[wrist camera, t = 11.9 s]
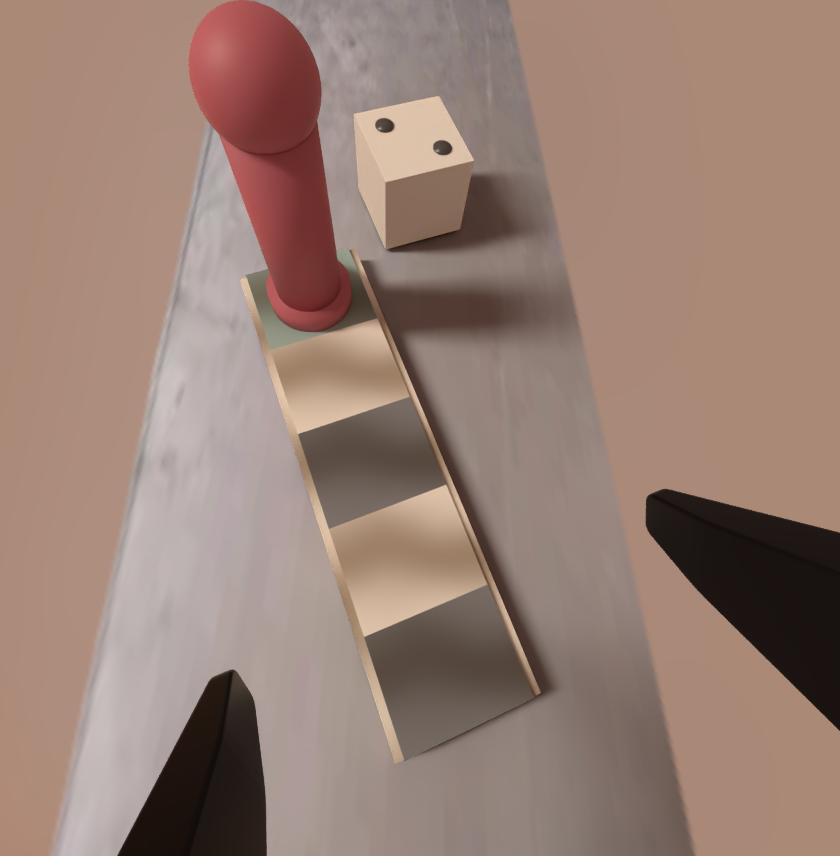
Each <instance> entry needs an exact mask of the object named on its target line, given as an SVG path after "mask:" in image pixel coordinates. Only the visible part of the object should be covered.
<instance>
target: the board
mask: <svg viewBox="0 0 840 856" xmlns="http://www.w3.org/2000/svg"><path fill="white" fill-rule="evenodd" d="M336 253H337V260H339V261H340V262H341V263H342V264H343V265H344V267H345V268H346V270H347V272H348V274H349V277H350V284H351V293H352V302H351V306H350V309H349V311H348V313H347V314H346V316H345V317H344V318H343V319H342V320H341V321H340V322H339V323H338V324H336V325H335V326H333V327H331V328H329V329H326V330H323V331H319V332H302V331H298V330H295V329H292V328H290V327H288V326H287V325H285V324H284V323H283V322H282V321H281V320H280V319H279V318H278V317H277V315H276V314H275V312H274V310H273V307H272V305H271V302H270V300H269V297H268V294H267V289H266V283H267V278H268V275H269V273H270V272H269V269H267V270H263V271H260V272H256V273H252V274H248V275H246V278H243V279H240V281H241V284H242V287H243V291H244V294H245V297H246V300H247V303H248V306H249V309H250V312H251V315H252V319H253V322H254V325H255V328H256V331H257V334H258V337H259V340H260V344H261V347H262V350H263V353H264V356H265V359H266V362H267V365H268V368H269V372H270V375H271V378H272V381H273V384H274V387H275V390H276V393H277V397H278V400H279V403H280V406H281V409H282V412H283V415H284V418H285V421H286V425H287V428H288V431H289V434H290V437H291V440H292V443H293V446H294V450H295V453H296V456H297V459H298V462H299V465H300V468H301V471H302V475H303V478H304V481H305V484H306V487H307V490H308V493H309V496H310V499H311V503H312V506H313V509H314V512H315V515H316V518H317V521H318V524H319V528H320V531H321V534H322V537H323V540H324V543H325V546H326V549H327V552H328V556H329V559H330V562H331V565H332V568H333V571H334V574H335V577H336V581H337V584H338V587H339V590H340V593H341V596H342V599H343V602H344V606H345V609H346V612H347V615H348V618H349V621H350V624H351V627H352V630H353V634H354V637H355V640H356V643H357V646H358V649H359V652H360V655H361V659H362V662H363V665H364V668H365V671H366V674H367V677H368V680H369V683H370V687H371V690H372V693H373V696H374V699H375V702H376V705H377V708H378V712H379V715H380V718H381V721H382V724H383V727H384V730H385V733H386V737H387V740H388V743H389V746H390V749H391V752H392V755H393V758H394V761H395V764H396V763H398V762H400V761H402V760H404V761H405V760H408V759H410V758H412V757H414V756H416V755H418V754H420V753H422V752H424V751H426V750H428V749H430V748H432V747H434V746H436V745H439V744H441V743H443V742H445V741H447V740H449V739H451V738H453V737H455V736H457V735H459V734H461V733H463V732H465V731H467V730H469V729H472V728H474V727H476V726H478V725H480V724H482V723H484V722H486V721H488V720H490V719H492V718H494V717H496V716H498V715H500V714H503V713H505V712H507V711H509V710H511V709H513V708H515V707H517V706H519V705H521V704H523V703H525V702H527V701H529V700H531V699H533V698H534V696H536V695H538V694H540V693H541V692H540V690H539V687H538V685H537V682H536V680H535V678H534V675H533V673H532V670H531V668H530V666H529V663H528V661H527V659H526V656H525V654H524V651H523V649H522V647H521V644H520V642H519V639H518V637H517V635H516V632H515V630H514V627H513V625H512V623H511V620H510V618H509V615H508V613H507V611H506V608H505V606H504V603H503V601H502V599H501V596H500V594H499V591H498V589H497V587H496V584H495V582H494V580H493V577H492V575H491V572H490V570H489V568H488V565H487V563H486V560H485V558H484V556H483V553H482V551H481V548H480V546H479V544H478V541H477V539H476V536H475V534H474V532H473V529H472V527H471V524H470V522H469V520H468V517H467V515H466V513H465V510H464V508H463V505H462V503H461V501H460V498H459V496H458V493H457V491H456V489H455V486H454V484H453V481H452V479H451V477H450V474H449V472H448V469H447V467H446V465H445V462H444V460H443V457H442V455H441V453H440V450H439V448H438V446H437V443H436V441H435V438H434V436H433V434H432V431H431V429H430V426H429V424H428V422H427V419H426V417H425V414H424V412H423V410H422V407H421V405H420V402H419V400H418V398H417V395H416V393H415V390H414V388H413V386H412V383H411V381H410V379H409V376H408V374H407V371H406V369H405V367H404V364H403V362H402V359H401V357H400V355H399V352H398V350H397V347H396V345H395V343H394V340H393V338H392V335H391V333H390V331H389V328H388V326H387V323H386V321H385V319H384V316H383V314H382V312H381V309H380V307H379V304H378V302H377V300H376V297H375V295H374V292H373V290H372V288H371V285H370V283H369V280H368V278H367V276H366V273H365V271H364V268H363V266H362V264H361V261H360V259H359V256H358V254H357V252H356V249H351V250H349V248H346V249H342V250H338V251H336Z"/></svg>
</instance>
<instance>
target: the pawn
mask: <svg viewBox="0 0 840 856" xmlns="http://www.w3.org/2000/svg"><path fill="white" fill-rule="evenodd" d="M189 74H190V80H191V84H192V89H193V92H194V95H195V98H196V100H197V102H198V104H199V107H200V109H201V111H202V112H203V114H204V116H205V117H206V119H207V120H208V122H209V123H210V124H211V126H212V127H213V128H214V129H215V130H216V131H217V132H218V134H219V135H220V138H221V141H222V144H223V146H224V149H225V152H226V154H227V157H228V160H229V163H230V165H231V168H232V171H233V174H234V176H235V179H236V182H237V185H238V187H239V190H240V193H241V195H242V198H243V201H244V204H245V206H246V209H247V212H248V215H249V217H250V220H251V223H252V225H253V228H254V231H255V234H256V236H257V239H258V242H259V245H260V247H261V250H262V253H263V256H264V258H265V261H266V264H267V266H268V269H269V272H270V273H269V275H268V278H267V283H266V289H267V294H268V297H269V300H270V302H271V305H272V307H273V310H274V312H275V314H276V315H277V317H278V318H279V319H280V320H281V321H282V322H283V323H284V324H285V325H287V326H288V327H290V328H292V329H295V330H298V331H302V332H319V331H323V330H326V329H329V328H331V327H333V326H335V325H336V324H338V323H339V322H340V321H341V320H342V319H343V318H344V317H345V316H346V314H347V313H348V311H349V309H350V306H351V302H352V293H351V284H350V277H349V274H348V272H347V270H346V268H345V267H344V265H343V264H342V263H341V262H340V261H339V260H337V253H336V246H335V239H334V233H333V226H332V219H331V212H330V206H329V199H328V192H327V185H326V178H325V172H324V165H323V158H322V151H321V144H320V138H319V131H318V124H317V119H318V115H319V111H320V106H321V81H320V75H319V70H318V67H317V64H316V61H315V58H314V56H313V53H312V51H311V49H310V47H309V45H308V44H307V42H306V40H305V39H304V37H303V36H302V34H301V33H300V32H299V31H298V30H297V28H296V27H295V26H294V25H293V24H292V23H291V22H290V21H289V20H288V19H287V18H286V17H284V16H283V15H282V14H280V13H279V12H277V11H276V10H274V9H272V8H271V7H268V6H266V5H263V4H261V3H257V2H253V1H247V0H238V1H231V2H227V3H224V4H222V5H220V6H218V7H216V8H215V9H213V10H212V11H210V12H209V13H208V14H207V15H206V16H205V18H204V19H203V20H202V21H201V23H200V24H199V26H198V27H197V29H196V31H195V34H194V36H193V39H192V42H191V47H190V54H189Z"/></svg>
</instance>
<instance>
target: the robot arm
mask: <svg viewBox="0 0 840 856" xmlns="http://www.w3.org/2000/svg"><path fill="white" fill-rule="evenodd" d="M646 527H647V529H648V531H649V533H650V535H651V536H652V537H653V538H654V539H655V541H656V542H657V543H658V544H659V545H660V547H661V548H662V549H663V550H664V551H665V553H666V554H667V555H668V556H669V557H670V559H671V560H672V561H673V562H674V563H675V565H676V566H677V567H678V568H679V569H680V570H681V572H682V573H683V574H684V575H685V576H686V578H687V579H688V580H689V581H690V582H691V583H692V585H693V586H694V587H695V588H696V589H697V590H698V591H699V592H700V593H701V594H702V595H703V596H704V597H705V598H706V599H707V600H708V601H709V602H710V603H711V604H712V605H713V606H714V607H715V608H716V609H717V610H718V611H719V612H720V613H721V614H722V615H723V616H724V617H725V618H726V619H727V620H728V621H729V622H730V623H731V624H732V625H733V626H734V627H735V628H736V629H737V630H738V631H739V632H740V633H741V634H742V635H743V636H744V637H745V638H746V639H747V640H748V641H749V642H750V643H751V644H752V645H753V646H755V648H756V649H757V650H758V651H759V652H760V653H761V654H762V655H763V656H765V658H766V659H767V660H769V661H770V662H771V663H772V665H774V666H775V667H776V668H777V669H778V670H779V671H780V672H781V673H782V674H783V675H784V676H785V677H786V678H787V679H788V680H789V681H790V682H791V683H792V684H793V685H794V686H795V687H796V688H797V689H798V690H799V691H800V692H801V693H802V694H803V695H804V696H805V697H806V698H807V699H808V700H809V701H810V702H811V703H812V704H813V705H814V706H815V707H816V708H817V709H818V710H819V711H820V712H821V713H822V714H823V715H825V717H826V718H827V719H828V720H829V721H830V722H831V723H832V724H833V725H834V726H835V727H836V728H837V729H838V730H839V731H840V533H839V532H835V531H831V530H827V529H824V528H820V527H815V526H812V525H807V524H804V523H800V522H796V521H792V520H788V519H784V518H780V517H776V516H772V515H768V514H764V513H760V512H756V511H752V510H748V509H744V508H740V507H736V506H732V505H729V504H724V503H720V502H717V501H713V500H709V499H705V498H701V497H697V496H693V495H689V494H685V493H681V492H677V491H673V490H669V489H662V490H659V491H657V492H654V493H652V494H650V495H648V497H647V499H646ZM117 856H267V843H266V796H265V785H264V776H263V767H262V759H261V751H260V743H259V734H258V726H257V718H256V709H255V704H254V700H253V697H252V695H251V693H250V691H249V690H248V688H247V687H246V685H245V683H244V682H243V680H242V679H241V677H240V676H239V674H238V673H237V672H236V671H235V670H229V671H226V672H224V673H221V674H219V675H217V676H214V677H213V678H212V679H211V680H210V681H209V682H208V684H207V686H206V688H205V690H204V692H203V694H202V695H201V697H200V699H199V701H198V703H197V705H196V707H195V709H194V711H193V713H192V714H191V716H190V718H189V720H188V722H187V724H186V726H185V728H184V730H183V732H182V734H181V735H180V737H179V739H178V741H177V743H176V745H175V747H174V749H173V751H172V753H171V754H170V756H169V758H168V760H167V762H166V764H165V766H164V768H163V770H162V772H161V773H160V775H159V777H158V779H157V781H156V783H155V785H154V787H153V789H152V791H151V792H150V794H149V796H148V798H147V800H146V802H145V804H144V806H143V808H142V810H141V812H140V813H139V815H138V817H137V819H136V821H135V823H134V825H133V827H132V829H131V831H130V832H129V834H128V836H127V838H126V840H125V842H124V844H123V846H122V848H121V850H120V851H119V853H118V855H117Z"/></svg>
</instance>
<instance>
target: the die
mask: <svg viewBox="0 0 840 856" xmlns="http://www.w3.org/2000/svg"><path fill="white" fill-rule="evenodd" d="M354 126H355V141H356V155H357V170H358V184H359V190H360V193H361V195H362V197H363V200H364V202H365V204H366V206H367V209H368V211H369V213H370V215H371V218H372V220H373V222H374V224H375V227H376V229H377V231H378V234H379V236H380V238H381V240H382V243H383V245H384V247H385V249H389V248H393V247H397V246H400V245H404V244H408V243H411V242H415V241H419V240H423V239H426V238H430V237H434V236H437V235H441V234H445V233H448V232H452V231H456V230H459V229H460V227H461V222H462V218H463V213H464V208H465V203H466V198H467V193H468V188H469V183H470V178H471V174H472V169H473V164H474V159H473V158H472V156H471V154H470V152H469V150H468V148H467V147H466V145H465V143H464V141H463V139H462V138H461V136H460V134H459V132H458V130H457V128H456V127H455V125H454V123H453V121H452V119H451V117H450V116H449V114H448V112H447V110H446V108H445V107H444V105H443V103H442V101H441V99H440V97H439V96H436V97H432V98H427V99H422V100H417V101H413V102H408V103H403V104H399V105H394V106H389V107H385V108H380V109H375V110H371V111H366V112H361V113H356V114H354Z"/></svg>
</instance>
